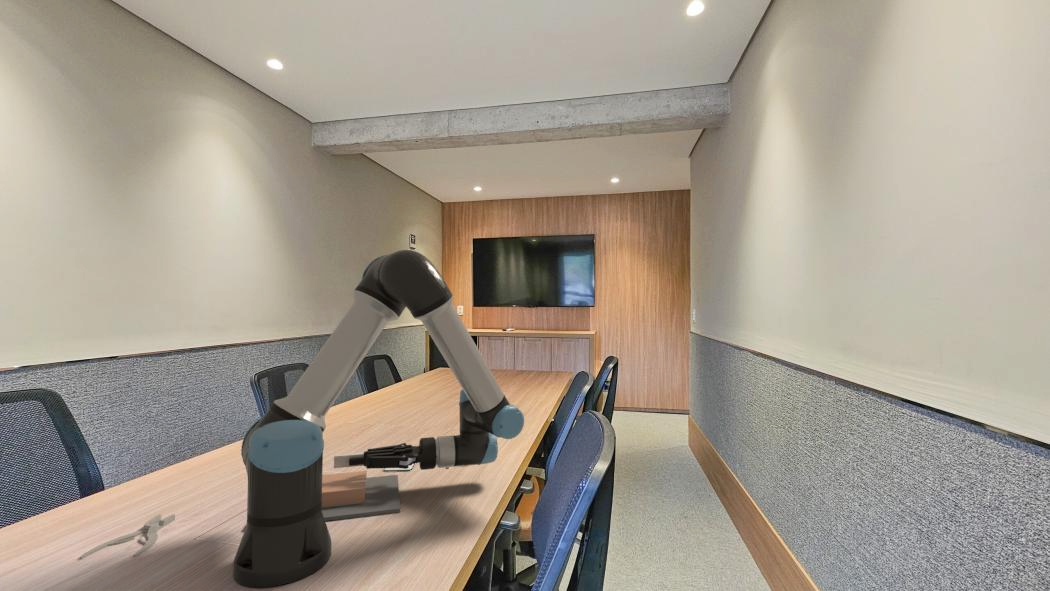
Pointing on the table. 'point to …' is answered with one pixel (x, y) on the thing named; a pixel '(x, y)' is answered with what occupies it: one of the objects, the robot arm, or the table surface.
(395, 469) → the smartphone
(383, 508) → the rubber mat
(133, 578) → the table surface
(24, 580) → the table surface
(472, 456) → the robot arm
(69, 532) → the table surface
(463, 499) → the table surface
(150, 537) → the pliers
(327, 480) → the light wooden block
